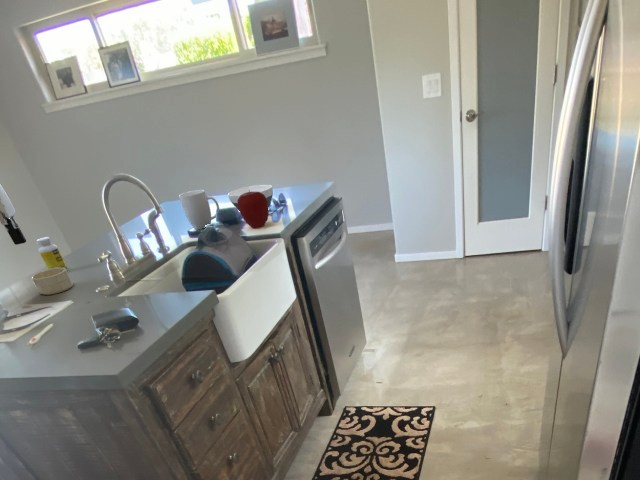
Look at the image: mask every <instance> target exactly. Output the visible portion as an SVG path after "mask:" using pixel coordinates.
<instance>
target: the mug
mask: <svg viewBox="0 0 640 480" xmlns="http://www.w3.org/2000/svg"><path fill="white" fill-rule="evenodd" d="M178 199H179V201H180V204H181V207H182V209H183V212H184V215H185V218H186V220H187V221H188V222H189V224H190V225H191V226H192V227H193V228H194V229H195V230H203V229H202V228H204V227H205V225H207V224H211V225H212V221H213V220H214V219H216V218H217V217H216V213H215V214H214V215H213V216H212V211H211V207H210V203H209V200H212V201H213V202H214V203H215V206H216V212H217V211H218V210H219V211H220V205H219V203H218V201H217V199H216V198H214V197H213V196H210V195H207V193H206V190H205V189H195V190H190V191H186V192H182V193H180V194H179V195H178ZM204 229H205V228H204Z"/></svg>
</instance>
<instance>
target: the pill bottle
mask: <svg viewBox="0 0 640 480" xmlns="http://www.w3.org/2000/svg"><path fill="white" fill-rule="evenodd" d="M35 242H36V243H37V245H38V246H39V247H38V253H39V254H40V256H41V259H42V260H43V262H44V264H45V266H46V268H47V270H48V269H53V268H66V270H67V271H69V268H68V265H67V264H66V262H65V260H64V257H63V256H62V254H61V252H60V249H59V248H58V246H57V245H56V244H54V243H52V239H51V238H50V236H44V237H41V238H38V239H36V241H35Z"/></svg>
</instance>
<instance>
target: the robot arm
mask: <svg viewBox="0 0 640 480" xmlns="http://www.w3.org/2000/svg"><path fill="white" fill-rule="evenodd" d="M15 214H16V209H15V206H14V205H13V203H12V200H11V199H10V197H9V196H8V194H7V192H6V190H5V188H4V187H3V186H2V183H1V182H0V224H1V225H2V226H3V227H4V229H5V230H6V232H7V233H8V235H9V238H10V239H11V241H12V242H13V244H14V245H15V246H16V245H17V246H18V245H22V244H26V243H27V239H26V237H25V236H24V234H23V232H22V230H21V228H20V227H19V224H18V222H17V220H16V218H15Z"/></svg>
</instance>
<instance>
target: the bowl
mask: <svg viewBox="0 0 640 480" xmlns="http://www.w3.org/2000/svg"><path fill="white" fill-rule="evenodd" d="M249 191H250V192H261V193H262V194H264V195H265V197H266V199H267V201H268V209H269V208H270V206H271V204H272V199H273V195H274V189H273V185H271V184H255V185H250V186H244V187H239V188H236V189H234V190H232V191H229V192H228V193H227V196H228V197H227V198H228V199H229V201H230V202H231V204H232V205H233V206H234V207H235V208H236V210H237V209H238V207H237V201H238V198H239V197H240V195H242V194H244V193H247V192H249ZM238 210H239V209H238ZM238 210H237V211H238ZM268 212H269V210H268Z"/></svg>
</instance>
